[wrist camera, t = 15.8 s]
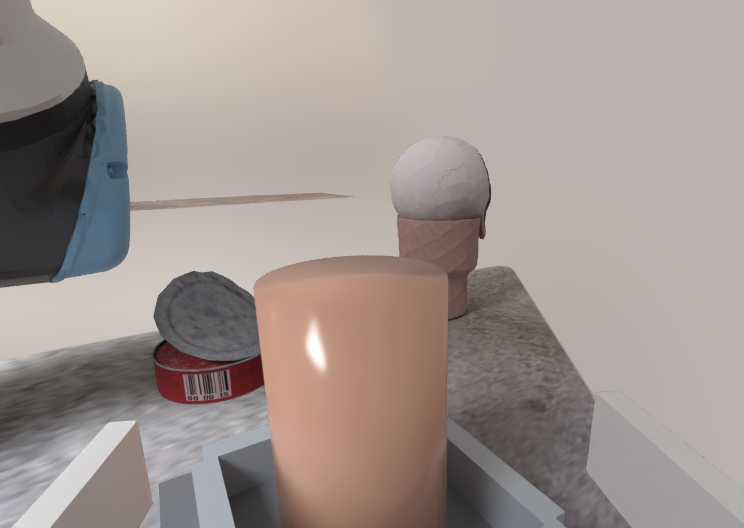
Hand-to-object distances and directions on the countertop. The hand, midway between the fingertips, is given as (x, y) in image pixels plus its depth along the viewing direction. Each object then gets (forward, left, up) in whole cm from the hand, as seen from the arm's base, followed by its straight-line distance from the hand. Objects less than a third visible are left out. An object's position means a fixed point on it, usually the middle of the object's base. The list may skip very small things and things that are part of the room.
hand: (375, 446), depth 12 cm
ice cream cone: (-27, +24, -9) cm, 37 cm away
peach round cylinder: (-4, +2, -8) cm, 9 cm away
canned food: (-25, -1, -9) cm, 27 cm away
